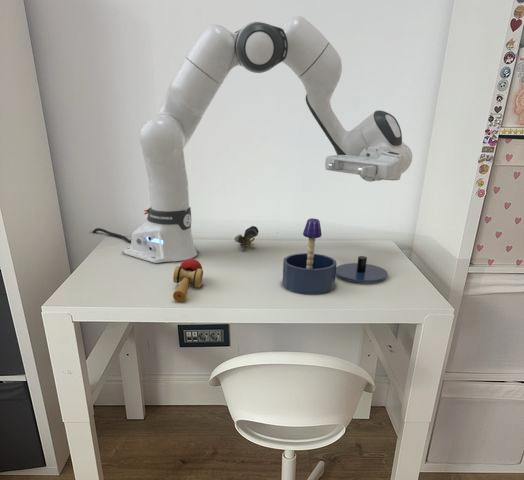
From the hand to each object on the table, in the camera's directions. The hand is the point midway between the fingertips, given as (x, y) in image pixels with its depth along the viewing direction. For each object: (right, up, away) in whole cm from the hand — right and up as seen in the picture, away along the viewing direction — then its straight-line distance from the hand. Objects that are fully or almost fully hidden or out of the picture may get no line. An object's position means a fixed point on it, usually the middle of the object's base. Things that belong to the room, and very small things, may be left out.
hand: (344, 169), depth 126 cm
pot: (-9, -29, +5) cm, 30 cm away
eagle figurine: (-26, -13, +34) cm, 45 cm away
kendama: (-40, -30, +1) cm, 50 cm away
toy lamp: (-9, -28, +5) cm, 30 cm away
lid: (+7, -25, +12) cm, 28 cm away
